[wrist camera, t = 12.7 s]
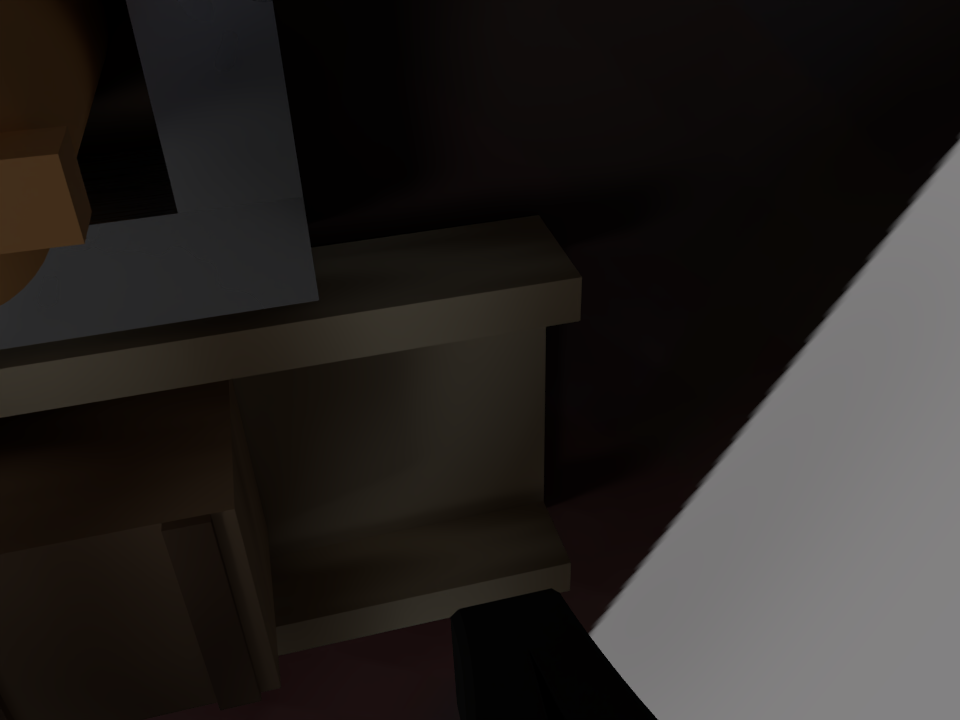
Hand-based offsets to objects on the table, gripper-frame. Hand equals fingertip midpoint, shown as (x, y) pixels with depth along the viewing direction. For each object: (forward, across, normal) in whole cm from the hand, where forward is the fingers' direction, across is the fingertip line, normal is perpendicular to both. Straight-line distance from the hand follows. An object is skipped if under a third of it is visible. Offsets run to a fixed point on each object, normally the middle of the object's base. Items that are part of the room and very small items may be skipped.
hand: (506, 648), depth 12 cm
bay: (+10, +4, +4) cm, 11 cm away
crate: (+9, +6, +4) cm, 12 cm away
